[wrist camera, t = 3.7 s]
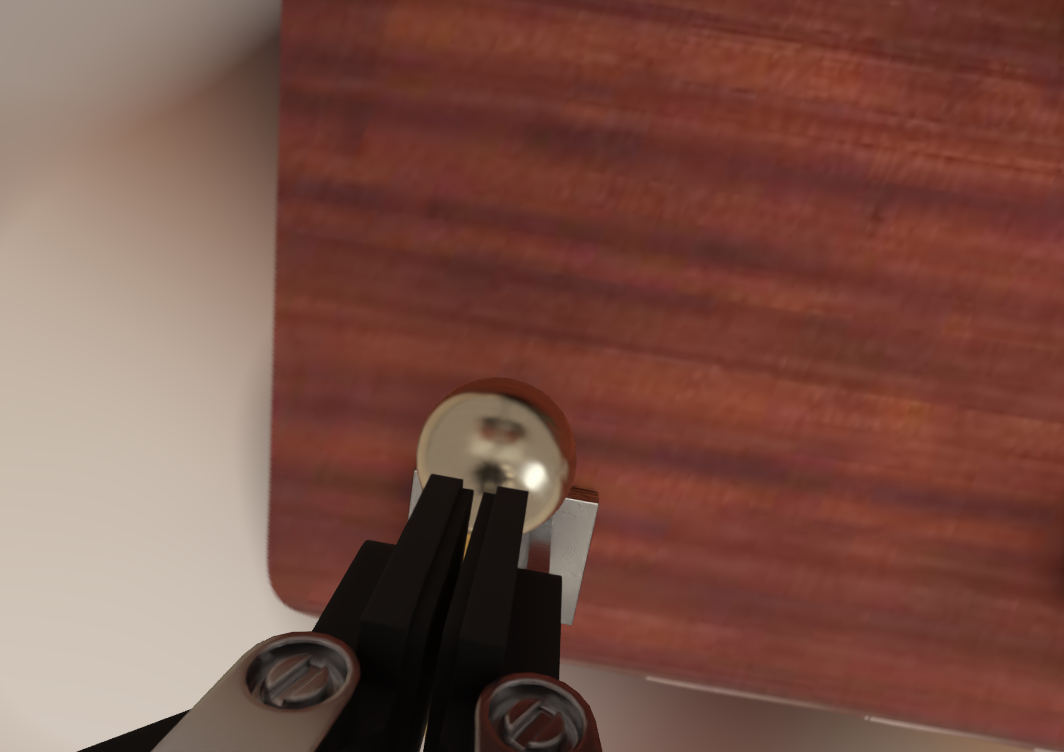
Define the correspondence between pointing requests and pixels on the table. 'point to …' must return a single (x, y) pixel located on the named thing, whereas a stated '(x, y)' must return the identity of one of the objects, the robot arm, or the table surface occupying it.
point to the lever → (500, 445)
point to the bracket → (555, 543)
